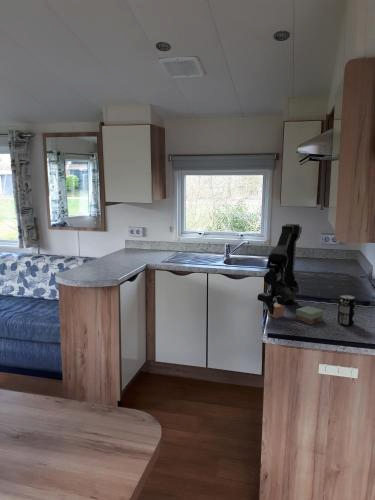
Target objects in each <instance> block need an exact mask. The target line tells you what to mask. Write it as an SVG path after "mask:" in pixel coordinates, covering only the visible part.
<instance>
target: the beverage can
mask: <svg viewBox="0 0 375 500" xmlns="http://www.w3.org/2000/svg"><path fill="white" fill-rule="evenodd" d="M356 302H357V301H356V299H355V296H353V295H350V294H342V295H341V294H340V297H339V299H338V306H337V309H338V310H337V320H336V321H337V323H338V324H339V325H340V326H344V327H351V326H353V325H354V323H355V314H356V304H357V303H356Z"/></svg>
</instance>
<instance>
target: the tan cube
mask: <svg viewBox="0 0 375 500" xmlns="http://www.w3.org/2000/svg"><path fill="white" fill-rule="evenodd" d="M267 316H269V317H272V318H274V319H279V318H282V317H284V316H285V304H284V305H281V304H278V303H277V302H276V303H275V304H274V310H273V315H271V314H270V312H269V310H268V309H267Z"/></svg>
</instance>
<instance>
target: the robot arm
mask: <svg viewBox="0 0 375 500" xmlns="http://www.w3.org/2000/svg"><path fill="white" fill-rule="evenodd" d="M302 229H303V227H302V226H300V224H299V223H286V224H284V225H282V226H281V233H280V236H279V239H278V242H277V244H276V247H274V248H273V249H272V250H271V251H270V253H269V255H268V259H267V262H266V266H265V267H266V269H268V271H267V272H266V273H265V274H264V276H263V278H264V282H265V283H266V284H267V285H269V286H270V288H269V290H267V291H268V293H266V292H262V293H258V294H257V301H259V302H262V303H265V305H266V307H267V311H268V310H269V312H270V314H271V315H273V310H274V304H275V303H278V304H281V305H284V306H285V305H287V306H291V305H296V304H298V301H296V296H297V293H299V292H300V285H299V282H298V276H297V274H296V272H295V263H296V262H295V261H296V252H297V251H296V250H297V247H296V246H297V242H298V240H299V239H300V238H301V235H302ZM275 298H276V301H275Z"/></svg>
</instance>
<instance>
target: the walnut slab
mask: <svg viewBox="0 0 375 500" xmlns="http://www.w3.org/2000/svg"><path fill="white" fill-rule="evenodd" d="M323 318H324V317H323V316H321V317H318V318H315V319H312V320H311V319H308V318H305V317H301V316H298V315H296V314H295V320H298V321H300V322H303V323H306V324H308V325H312V324H316V323H319V322H322V321H323V320H324V319H323Z"/></svg>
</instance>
